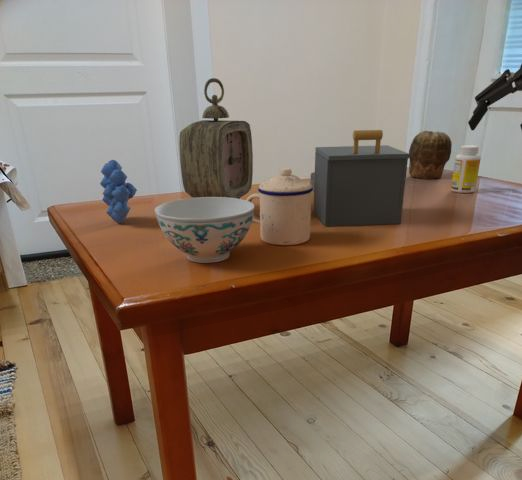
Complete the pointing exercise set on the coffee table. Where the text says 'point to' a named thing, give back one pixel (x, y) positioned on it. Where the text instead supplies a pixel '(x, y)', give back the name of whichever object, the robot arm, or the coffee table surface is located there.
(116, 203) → the grapes
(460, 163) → the supplement bottle
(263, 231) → the teacup with lid
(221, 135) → the tabletop clock
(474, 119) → the robot arm
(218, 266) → the coffee table surface
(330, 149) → the chest lid
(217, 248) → the chinaware
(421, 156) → the brown rounded lump
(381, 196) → the chest
